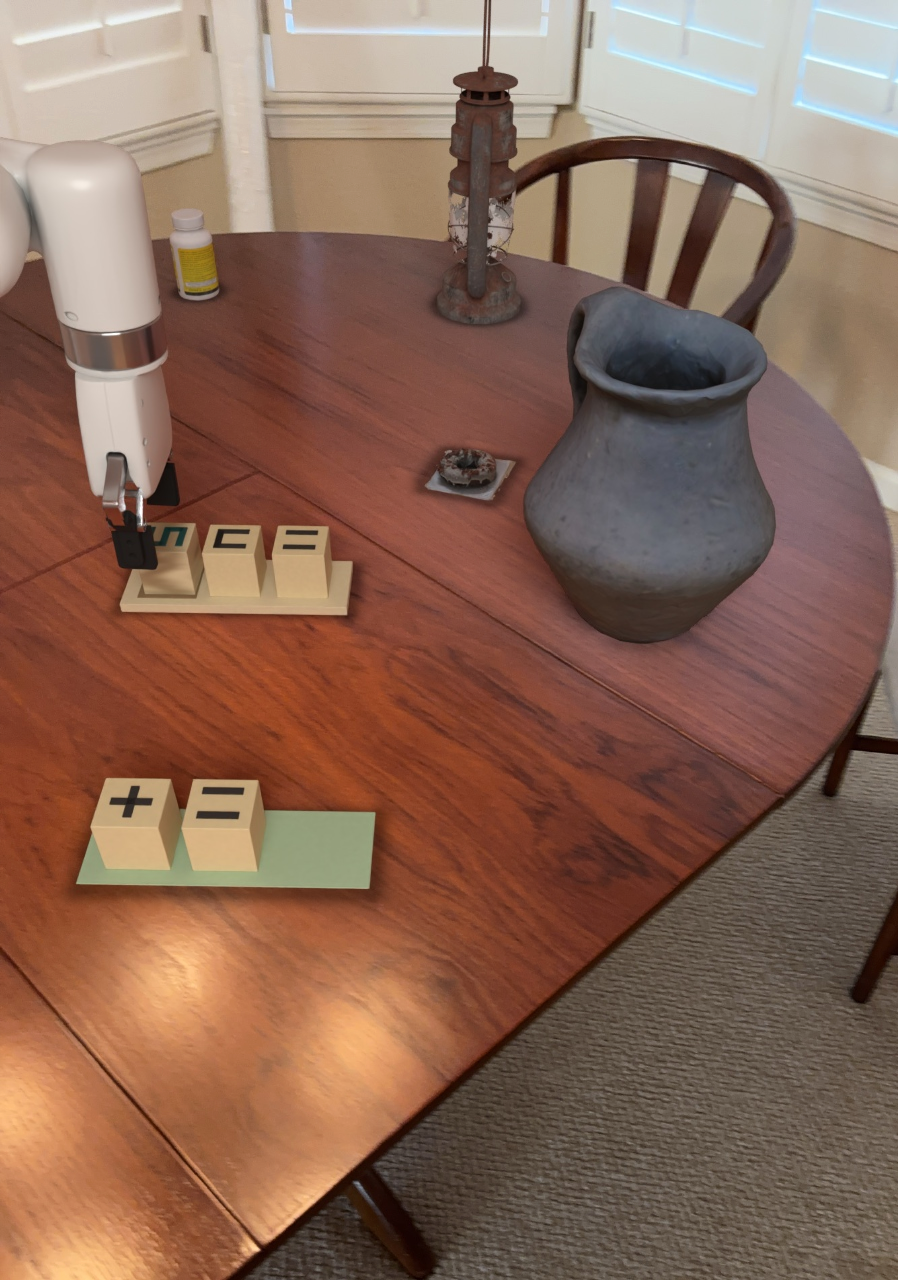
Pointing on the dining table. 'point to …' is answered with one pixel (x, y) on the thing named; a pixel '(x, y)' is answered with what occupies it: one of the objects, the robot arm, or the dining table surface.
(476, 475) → the donut
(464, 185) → the lantern
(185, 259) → the supplement bottle
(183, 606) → the mat
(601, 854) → the dining table surface
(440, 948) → the dining table surface
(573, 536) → the pitcher
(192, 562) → the cream block
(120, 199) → the robot arm
